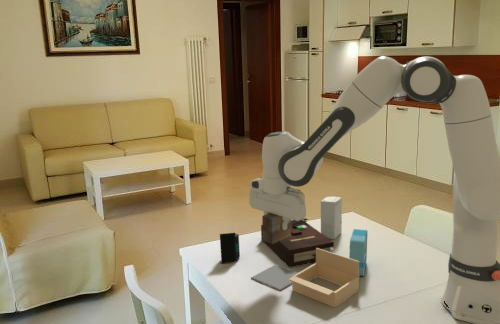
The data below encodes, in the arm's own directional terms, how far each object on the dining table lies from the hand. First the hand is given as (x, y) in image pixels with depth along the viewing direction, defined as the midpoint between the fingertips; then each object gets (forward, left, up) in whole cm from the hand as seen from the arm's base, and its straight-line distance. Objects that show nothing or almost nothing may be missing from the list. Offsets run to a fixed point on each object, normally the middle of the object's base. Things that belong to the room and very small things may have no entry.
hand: (276, 227), depth 144 cm
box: (0, 0, -4) cm, 4 cm away
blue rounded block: (-16, -22, -17) cm, 32 cm away
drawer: (-16, -2, -17) cm, 24 cm away
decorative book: (+9, -21, -18) cm, 29 cm away
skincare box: (+7, -41, -17) cm, 45 cm away
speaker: (+22, 0, -17) cm, 28 cm away
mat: (0, 0, -17) cm, 17 cm away
